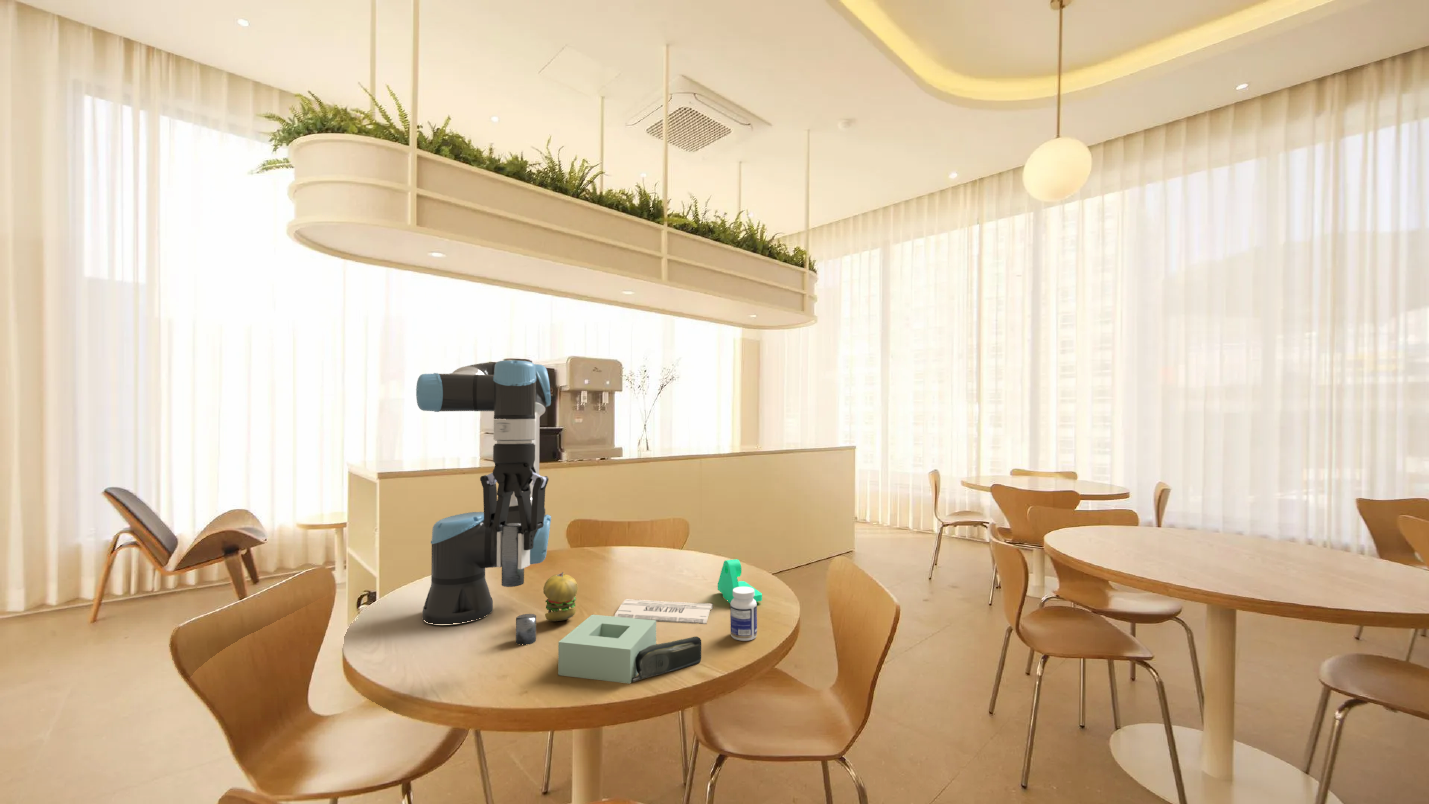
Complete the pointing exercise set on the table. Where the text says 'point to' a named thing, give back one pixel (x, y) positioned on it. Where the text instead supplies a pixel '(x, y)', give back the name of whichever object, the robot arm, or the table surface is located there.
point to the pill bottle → (743, 614)
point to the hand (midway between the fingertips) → (513, 566)
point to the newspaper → (665, 611)
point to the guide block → (605, 648)
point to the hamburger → (560, 597)
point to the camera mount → (733, 580)
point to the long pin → (511, 556)
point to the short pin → (526, 629)
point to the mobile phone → (667, 657)
